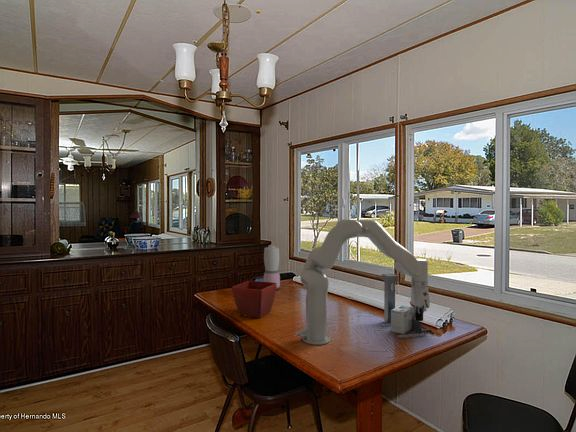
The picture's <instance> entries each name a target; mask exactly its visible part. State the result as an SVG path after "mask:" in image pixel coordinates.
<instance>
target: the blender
mask: <svg viewBox="0 0 576 432" xmlns="http://www.w3.org/2000/svg"><path fill="white" fill-rule="evenodd" d="M263 262H264V269H265V270H264V273H263V282H272V283H277V285H276V290H278V289H281V276H280V271H279V266H280V248H279V247H276V245H268V246H267V247H264V251H263Z"/></svg>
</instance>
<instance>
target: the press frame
mask: <svg viewBox="0 0 576 432" xmlns="http://www.w3.org/2000/svg"><path fill="white" fill-rule="evenodd" d="M381 280H382V281H383V282H384V283H383V284H384V286H383V287H384V288H383V289H384V290H383V292H384V293H383V294H384V295H383V296H384V298H383V299H384V301H383V302H384V306H383V307H384V309H383V311H384V312H383V314H384V316H383V319H384V320H383V322H385V323H381V327H383V328H384V327H391V310H392V309H394V308H396V283H397V282H398V281H399V276H398V275H397V274H394V273H381ZM422 326H423V323H422V322H421V321H416V320H415V319H413V318H412V329H411V330H413V329H414V330H413V331H415V332H417V333H410V334H409V333H408V334H406V333H405V334H397V338H398V339H407V338H419V337H421V336H422V337H425V335H424V333H422V330H423V328H422Z"/></svg>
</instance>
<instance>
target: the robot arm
mask: <svg viewBox="0 0 576 432" xmlns="http://www.w3.org/2000/svg"><path fill="white" fill-rule="evenodd" d="M355 238H368V239H369V240H370V241H371V243H372V244H373V245H374V246H375V247H376V248H377V249H378V250H379V251H380V252H381V254H383V256H384V255H385V256H386V257H387V258H390V259H392V260H394V261H395V262H394V269H395V270H396V272H397V273H400V274H402V275H406V276H409V277H411V284H410V285H411V290H410V301H411V303H412V304H413V305H415V306H414V307H415V312H416V320H417V321H418V322H423V321H424V313H425V312H427V309H429V308H430V304H431V303H430V301H431V300H430V292H429V288H428V282H429V281H428V278H429V276H428V274H429V271H428V269H429V262H428V260H427V259H425V258H416V257H415V255H413V254H412V253H411V252H410V251H409V250H407V249H406V248H405V247H404V246H402V245H401V244H400V243H399V242H397V241H396V240H395V239H394V238H393V237H392V236H391V235H390V233H389V232H388V231H387V230H386V229H385V228H384V226H382V224H381V223H380V222H378V221H376V220H371V219H370V220H367V219H362V220H361V219H346V218H345V219H344V218H343V219H341V220H339V221H338V222H336V225H335V226H333V227H332V228H331V229H330V230H329V232H328V233H327V234H326V236H325V238H324V240H323V242H322V244H321V246H318V247H314V248H313V249H312V250H311V251H310V252H309V254H308V255H307V257H306V258H307V259H306V260H305V263H304V266H303V267H302V270H301V273H300V281H301V284H302V285H303V286H304V287H306V289H307V290H306V297H305V328H304V329H303V330H302V331H295V336H296V337H299V338H302V341H303V342H305V343H306V344H308V345H314V346H315V345H316V346H318V345H319V346H320V345H327V344H329V343H330V342H331V336H330V335H329V334H328V320H327V319H328V291H329V286H330V285H329V278H328V277H327V274H325V273H324V272H323V270H326V271H327V270H330V269H332V268H333V267H334V266H335V264H336V261H337V258H338V256H339V253H340V251H341V250H342V248H343V245H344V244H345V243H346V242H347V241H348V240H350V239H355Z"/></svg>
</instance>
